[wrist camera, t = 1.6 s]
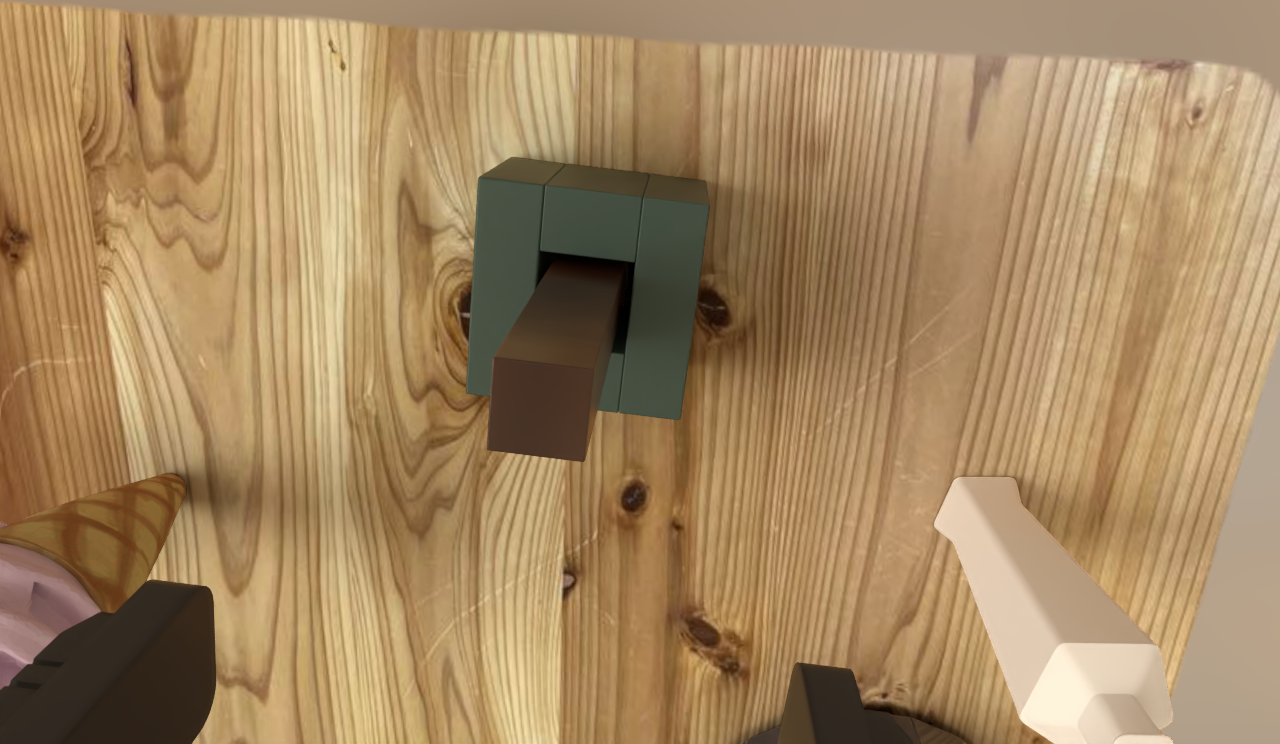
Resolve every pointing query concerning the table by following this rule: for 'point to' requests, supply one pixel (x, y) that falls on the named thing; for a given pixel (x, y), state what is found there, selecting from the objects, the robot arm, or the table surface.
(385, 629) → the table surface
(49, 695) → the robot arm
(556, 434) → the brown rectangular peg
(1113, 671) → the perfume bottle
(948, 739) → the bowl
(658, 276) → the holder
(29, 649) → the ice cream cone
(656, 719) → the table surface
